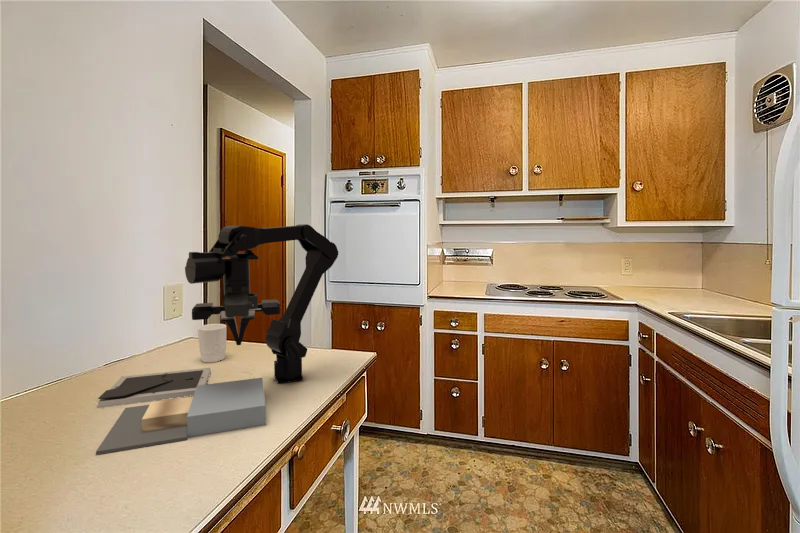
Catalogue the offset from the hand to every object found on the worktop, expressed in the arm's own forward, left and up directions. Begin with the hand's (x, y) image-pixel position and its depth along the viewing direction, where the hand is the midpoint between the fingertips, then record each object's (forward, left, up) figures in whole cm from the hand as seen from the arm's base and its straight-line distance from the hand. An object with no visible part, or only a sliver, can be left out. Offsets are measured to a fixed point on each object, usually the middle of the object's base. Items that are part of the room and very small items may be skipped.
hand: (238, 344), depth 93 cm
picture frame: (+18, -10, -13) cm, 25 cm away
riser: (+2, +10, -12) cm, 16 cm away
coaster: (+13, +10, -11) cm, 20 cm away
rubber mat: (+16, +10, -12) cm, 22 cm away
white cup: (+8, -30, -12) cm, 33 cm away
